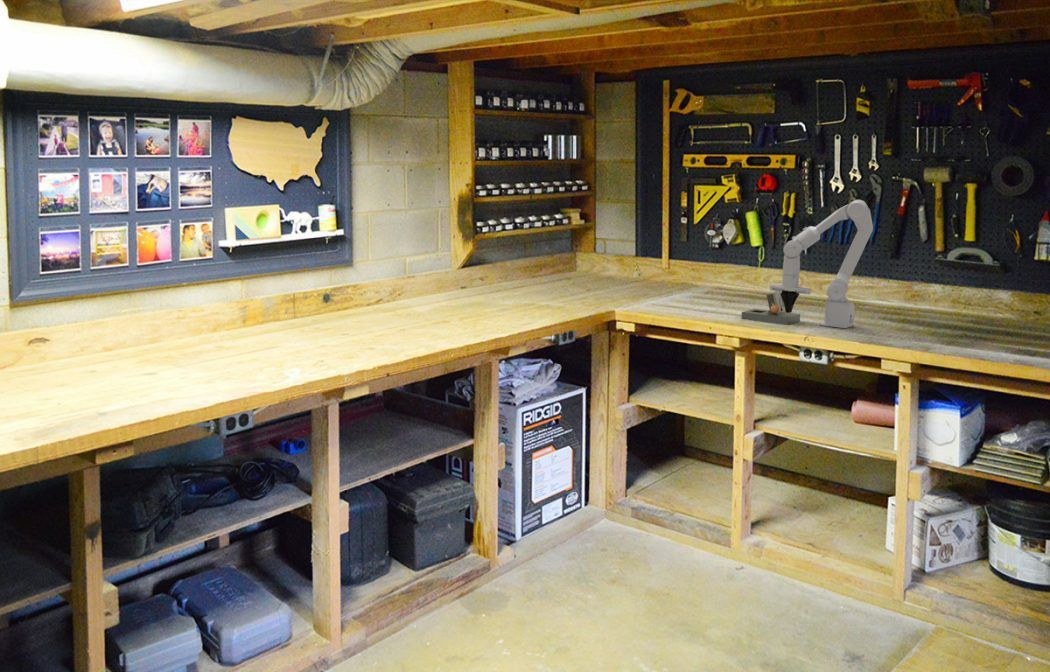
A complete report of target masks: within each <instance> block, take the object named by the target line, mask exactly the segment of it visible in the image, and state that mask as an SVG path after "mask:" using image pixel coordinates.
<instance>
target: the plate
mask: <svg viewBox="0 0 1050 672" xmlns="http://www.w3.org/2000/svg"><path fill="white" fill-rule="evenodd" d="M740 319H742V320H747V319H748V321H756V322H764V323H770V322H771V323H772V324H778V325H787V326H788V325H791V324H795V323H798V322H800V321H801V314H800V313H796V312H795V313H793V312H791V313H786V312H778V313H776V314H774V313H772V312H771V311H770V309H769V310H768V309H759V308H751V309H749V310H745V311H741V318H740ZM771 323H770V324H771Z"/></svg>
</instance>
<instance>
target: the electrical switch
mask: <svg viewBox="0 0 1050 672" xmlns="http://www.w3.org/2000/svg"><path fill="white" fill-rule="evenodd" d="M780 293H782V291H772V292H771V293H769V294H766V299H767V303H768V307H769V311H771V310H770V309H771V306H773V305H778V306H779V308H780V310H779V312H786V311H785V306H784V302H783V300H782V297H781V295H780Z"/></svg>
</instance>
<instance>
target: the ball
mask: <svg viewBox="0 0 1050 672" xmlns="http://www.w3.org/2000/svg"><path fill="white" fill-rule="evenodd" d="M772 305H773V304H772ZM770 310H771V312H772V313H774V314H776V313H778V312H779V310H780V308H779V306H778V305H773V306H771V309H769V311H770Z"/></svg>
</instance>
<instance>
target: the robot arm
mask: <svg viewBox="0 0 1050 672" xmlns="http://www.w3.org/2000/svg"><path fill="white" fill-rule="evenodd" d="M849 219H851V220H852V221H853V223H854V225H855V227H856V229H857V232H856V233H855V236H854V238H853V240H852V242H851V245H850V246H849V248H848V251H847V253H846V255H845V257H844V259H843V261H842V264H841V266H840V268H839V270H838V272H837V274H836V276H835V277H834V280H833V281H831V283H829V286H828V287H827V289H826V295H827V297H826V298H825V308H824V309H825V310H824V321H823V322H822V323H819V326H826V327H835V328H840V329H841V328H842V329H848V328H851V327H854V326H855V309H856V307H855V303H854V302H852V301H848V298H847V297H846V294H847V293H848V289H849V288H848V284H849V281H850V279H851V278H852V276H853V273H854V271H855V268H856V267H857V264H858V262H859V260H860V258H861V256H862V255H863V252H864V250H865V247H866V246H867V243H868V241H869V239H870V237H871V235H872V233H873V230H874V224H873V220H872V213H871V209H870V208H869V206H868V205H867V203H866V202H865V201H864V200H862V199H854V200H853V201H851V202H850V203H847V204H846V205H844V206H841V207H840V208H838V209H836V210H835V211H834V212H833V213H831V214H830V215H829V216H828V217H826V218H825V219H824V220H822V221H821V222H820V223H818V224H817V225H816V226H812V225H810V226H808V227H807V226H805V227H804V228H802V231H801V232H800V233H798V234H797V235H796V236H795V235H793V236H792V237H791V239H792V240H789V241H787V242H786V243H785V244H784V246H783V250H782V251H783V254H784V255H783V262H782V278H781V280H782V281H781V284H770V285H769V291H772V292H773V291H782V293H780V295H781V297H782V300H783V302H784V306H785V311H786V313H793V308H794V305H795V303H796V301H797V299H798V297H799V296H800V294H803V295H810V294H811V293H812V292H811V291H812V290H811V289H812V288H810V287H808V288H807V287H802V286H799V285H800V284H799V283H800V271H801V270H800V268H801V261H800V258H801V253H802V251H805V250H807V249H809V248H810V247H811V246H812V245H813V244H815V243H818V241H820V239H821V234H823V233H824V232H825V231H827V230H828V229H830V228H831V227H833V226H834V225H835V224H837V223H838V222H840V221H846V220H849Z"/></svg>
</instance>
